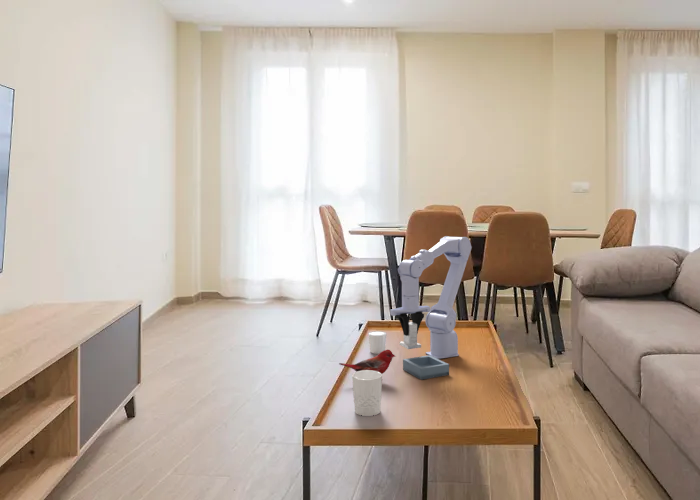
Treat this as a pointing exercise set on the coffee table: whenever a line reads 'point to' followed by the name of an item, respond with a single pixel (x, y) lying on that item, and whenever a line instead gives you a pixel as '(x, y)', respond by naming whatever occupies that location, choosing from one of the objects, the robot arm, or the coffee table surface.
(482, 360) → the coffee table surface
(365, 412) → the white cup
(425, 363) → the slate well
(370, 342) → the off-white tapered cylinder
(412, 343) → the grey t-shaped bar
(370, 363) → the decorative bird figurine
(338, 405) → the coffee table surface
